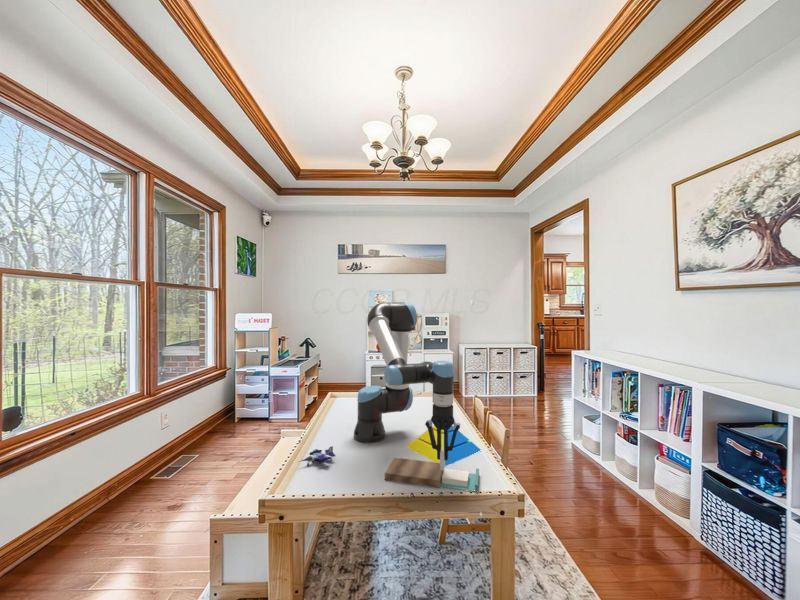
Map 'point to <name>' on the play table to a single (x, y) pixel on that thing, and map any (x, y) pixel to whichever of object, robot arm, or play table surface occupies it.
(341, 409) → the play table surface
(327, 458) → the toy airplane
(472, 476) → the mat
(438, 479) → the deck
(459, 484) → the tile
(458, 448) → the pyramid toy
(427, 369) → the robot arm
